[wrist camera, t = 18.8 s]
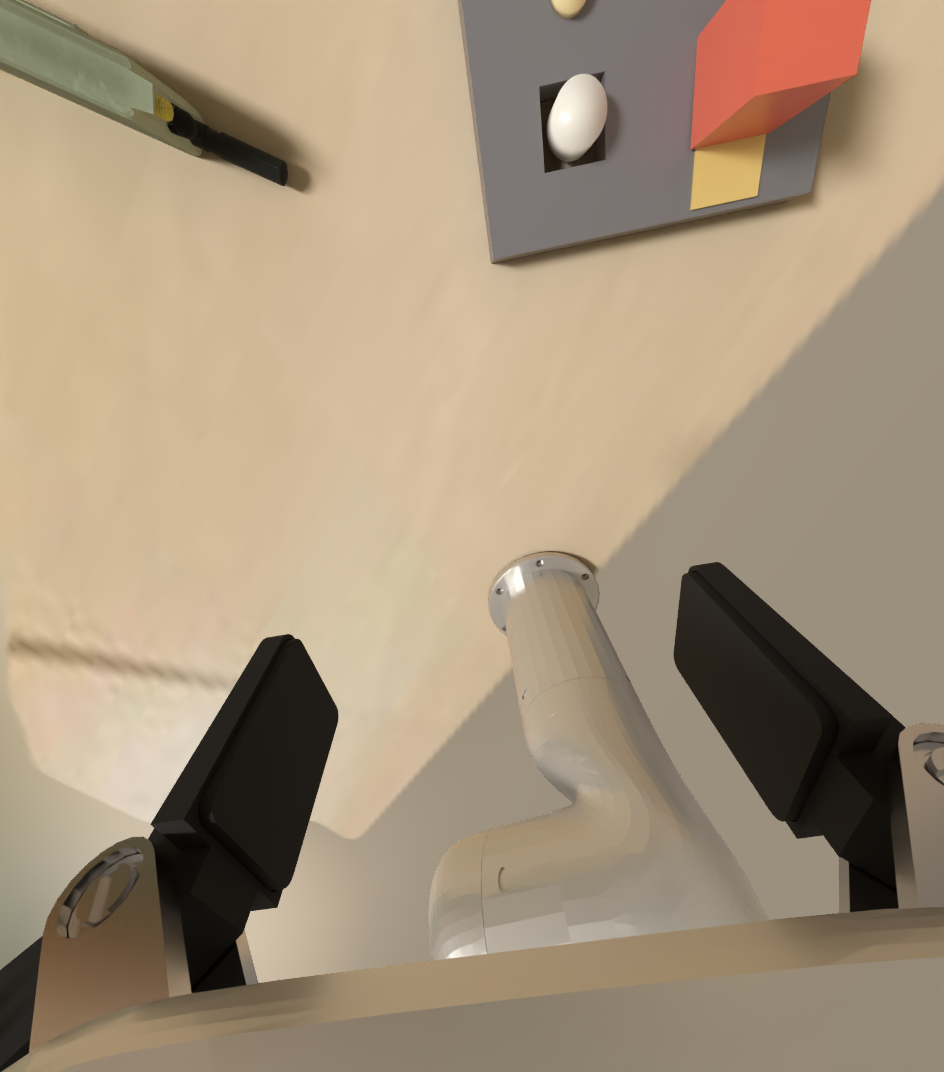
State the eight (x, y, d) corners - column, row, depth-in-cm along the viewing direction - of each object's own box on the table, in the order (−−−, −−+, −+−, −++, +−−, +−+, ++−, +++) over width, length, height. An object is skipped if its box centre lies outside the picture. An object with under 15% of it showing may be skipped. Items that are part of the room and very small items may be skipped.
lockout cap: (769, 133, 25) (856, 73, 19) (690, 150, 25) (754, 96, 19) (784, 17, 22) (888, -86, 17) (697, 36, 23) (772, -59, 17)
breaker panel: (788, 200, 28) (818, 189, 26) (491, 263, 29) (494, 258, 27) (849, -155, 21) (898, -214, 18) (451, -54, 22) (450, -97, 20)
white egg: (596, 155, 25) (607, 143, 24) (548, 166, 25) (555, 154, 24) (595, 86, 24) (607, 67, 22) (544, 98, 24) (551, 80, 22)
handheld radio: (-179, -79, 21) (296, 148, 26) (-153, 10, 22) (290, 207, 27) (-422, -225, 15) (249, 102, 20) (-364, -92, 17) (245, 181, 22)
